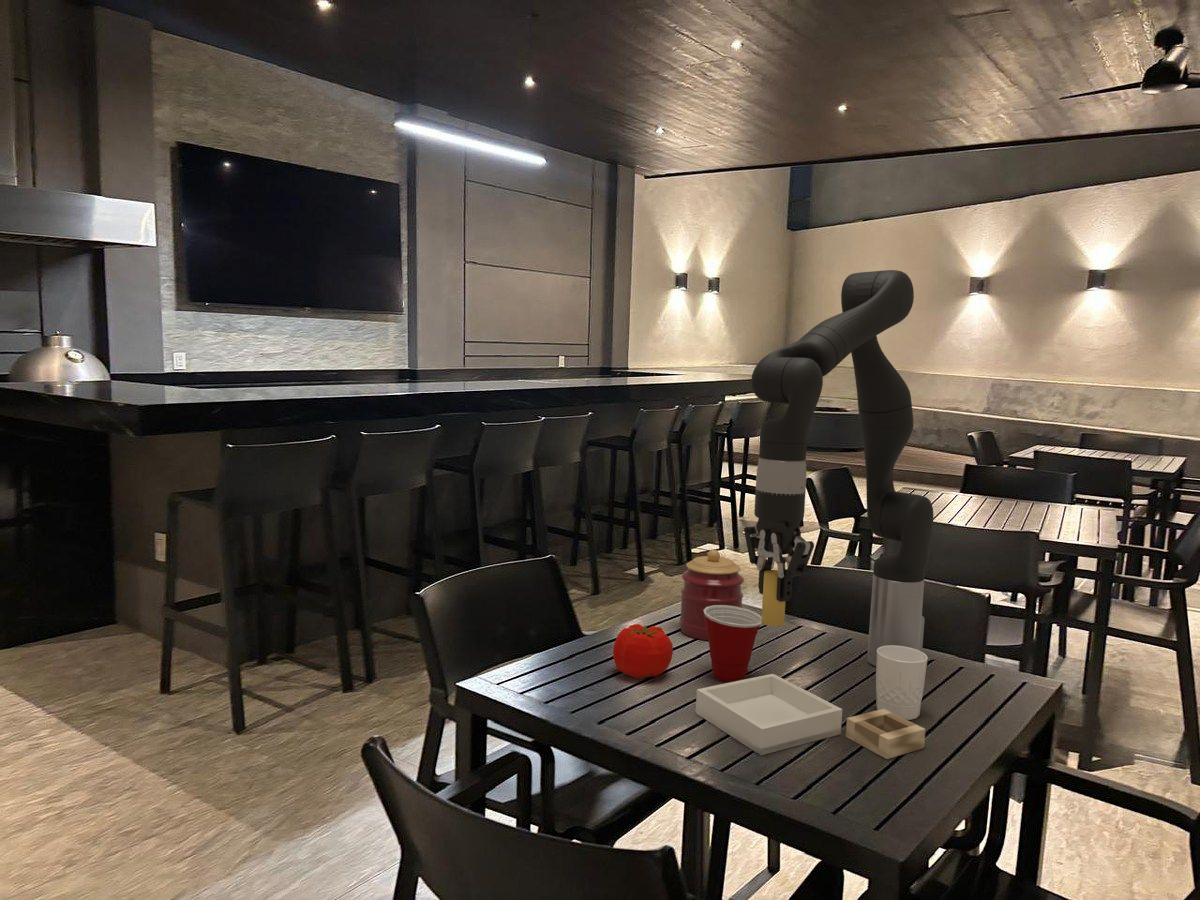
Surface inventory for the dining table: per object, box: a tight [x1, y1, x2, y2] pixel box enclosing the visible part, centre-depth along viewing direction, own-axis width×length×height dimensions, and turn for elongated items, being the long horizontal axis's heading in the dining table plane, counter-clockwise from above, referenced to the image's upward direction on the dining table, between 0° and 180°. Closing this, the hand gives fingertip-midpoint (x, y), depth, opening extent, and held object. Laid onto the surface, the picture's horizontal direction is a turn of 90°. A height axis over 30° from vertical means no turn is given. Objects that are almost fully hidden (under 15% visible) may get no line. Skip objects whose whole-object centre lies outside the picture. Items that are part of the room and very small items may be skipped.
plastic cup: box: [704, 605, 763, 683], centre depth 149 cm, size 11×11×12 cm
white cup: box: [875, 645, 929, 721], centre depth 137 cm, size 8×8×10 cm
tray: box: [695, 673, 843, 756], centre depth 131 cm, size 16×16×4 cm
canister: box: [679, 549, 745, 641], centre depth 174 cm, size 13×13×18 cm
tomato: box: [612, 623, 674, 679], centre depth 150 cm, size 11×11×9 cm
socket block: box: [845, 709, 926, 760], centre depth 126 cm, size 8×8×3 cm
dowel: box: [761, 569, 786, 627], centre depth 129 cm, size 4×4×8 cm
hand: (774, 596), depth 129 cm, fingers closed on dowel, 3 cm apart
